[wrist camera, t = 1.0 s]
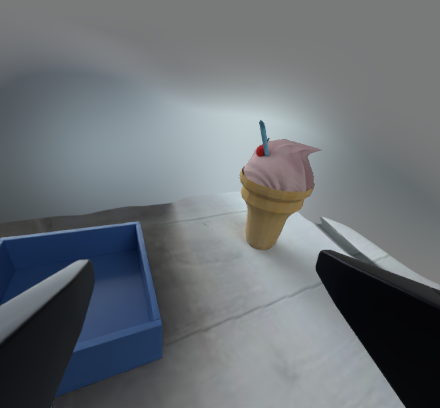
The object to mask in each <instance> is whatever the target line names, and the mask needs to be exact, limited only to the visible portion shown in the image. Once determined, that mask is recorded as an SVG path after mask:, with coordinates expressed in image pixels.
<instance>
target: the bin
mask: <svg viewBox="0 0 440 408" xmlns="http://www.w3.org/2000/svg"><path fill="white" fill-rule="evenodd" d="M77 260H91V261H92V262H93V269H94V277H95V284H94V289H93V292H92V296H91V299H90V303H89V307H88V310H87V314H86V317H85V321H84V324H83V328H82V331H81V333H80V336H79V338H78V341H77V343H76V346H75V348H74V351H73V353H72V356H71V358H70V361H69V363H68V366H67V368H66V370H65V373H64V375H63V378H62V380H61V383H60V385H59V388H58V390H57V393H56V395H55V397H57V396H60V395H63V394H65V393H68V392H71V391H73V390H76V389H79V388H82V387H84V386H87V385H90V384H92V383H95V382H98V381H100V380H103V379H106V378H109V377H111V376H114V375H117V374H119V373H122V372H125V371H127V370H130V369H133V368H136V367H138V366H141V365H144V364H146V363H149V362H152V361H155V360H157V359H160V358H162V321H161V317H160V312H159V307H158V303H157V298H156V294H155V289H154V285H153V280H152V276H151V271H150V267H149V262H148V257H147V253H146V248H145V244H144V239H143V235H142V230H141V226H140V222H131V223H123V224H114V225H106V226H98V227H89V228H81V229H73V230H64V231H56V232H48V233H39V234H31V235H23V236H14V237H6V238H0V306H1V305H2V304H4V303H6V302H8V301H9V300H11V299H13V298H14V297H16V296H18V295H19V294H21V293H23V292H25V291H26V290H28V289H30V288H31V287H33V286H35V285H36V284H38V283H40V282H42V281H43V280H45V279H47V278H48V277H50V276H52V275H53V274H55V273H57V272H59V271H60V270H62V269H64V268H65V267H67V266H69V265H70V264H72V263H74V262H76V261H77Z"/></svg>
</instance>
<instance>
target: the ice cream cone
mask: <svg viewBox="0 0 440 408" xmlns="http://www.w3.org/2000/svg"><path fill="white" fill-rule="evenodd" d="M259 124H260V129H261V135H262V141H263V144H262V145H260V146H259V147H258V148H257V149H256V150H255V152H254V153H253V155H252V157H251V159H250V160H249V161H248V163H247V165H246V166H245V167H243V169H242V170H241V172H240V181H241V183H242V184H243V187H242V190H241V194H242V197H243V199H244V200H245V202H246V204H247V209H248V212H247V221H246V238H247V241H248V243H249V244H250V245H251V246H252V247H254V248H256V249H259V250H267V249H269V248H271V247H272V246H273V245H274V244H275V243H276V241H277V239H278V237H279V235H280V233H281V231H282V229H283V226H284V224H285V222H286V220H287V218H288V217H289V216H290V215H291V214H293V213H295V212H297V211H298V210H300V209H301V208H302V206H303V202H304V199H305V198H307V197H308V196H310V194H311V193H312V191H313V188H314V183H313V181H314V176H313V172H312V169H311V167H310V164H309V160H308V155H309V154H310V153H313V152H316V151H320V149H318V148H314V147H310V146H307V145H304V144H300V143H297V142H293V141H290V140H286V139H282V140H275V141H269V142H268V140H269V138H268V140H267V136H266V130H265V126H264V123H263V121H261V120H260V122H259Z"/></svg>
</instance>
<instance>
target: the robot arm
mask: <svg viewBox="0 0 440 408" xmlns="http://www.w3.org/2000/svg"><path fill="white" fill-rule="evenodd" d="M316 272H317V274H318V276H319V277H320V279H321V281H322V283H323V284H324V286H325V288H326V290H327V291H328V293H329V295H330V297H331V299H332V300H333V302H334V304H335V305H336V307H337V308H338V310H339V311H340V313H341V314H342V315H343V317H344V318H345V320H346V321H347V323H348V324H349V326H350V327H351V329H352V330H353V331H354V333H355V334H356V336H357V337H358V339H359V340H360V342H361V343H362V345H363V346H364V348H365V349H366V350H367V352H368V353H369V355H370V356H371V358H372V359H373V361H374V362H375V364H376V365H377V366H378V368H379V369H380V371H381V372H382V374H383V375H384V377H385V378H386V380H387V381H388V383H389V384H390V385H391V387H392V388H393V390H394V391H395V393H396V394H397V396H398V397H399V399H400V400H401V401H402V403H403V404H404V406H405V407H406V408H440V290H437V289H435V288H430V287H429V286H426V285H424V284H421V283H418V282H416V281H413V280H410V279H408V278H405V277H402V276H399V275H397V274H394V273H391V272H389V271H386V270H383V269H381V268H378V267H375V266H373V265H370V264H367V263H364V262H362V261H359V260H356V259H354V258H351V257H348V256H346V255H343V254H340V253H338V252H335V251H332V250H322V251H320V253H319V256H318V260H317V263H316ZM94 284H95V277H94V269H93V262H92V261H91V260H77V261H76V262H74V263H72V264H70V265H69V266H67V267H65V268H64V269H62V270H60V271H59V272H57V273H55V274H53V275H52V276H50V277H48V278H47V279H45V280H43V281H42V282H40V283H38V284H36V285H35V286H33V287H31V288H30V289H28V290H26V291H25V292H23V293H21V294H19V295H18V296H16V297H14V298H13V299H11V300H9V301H8V302H6V303H4V304H2V305H1V306H0V408H50V407H51V405H52V402H53V400H54V398H55V395H56V393H57V390H58V388H59V385H60V383H61V380H62V378H63V375H64V373H65V370H66V368H67V366H68V363H69V361H70V358H71V356H72V353H73V351H74V348H75V346H76V343H77V341H78V338H79V336H80V333H81V331H82V328H83V324H84V321H85V317H86V314H87V310H88V307H89V303H90V299H91V296H92V292H93V289H94Z"/></svg>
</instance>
